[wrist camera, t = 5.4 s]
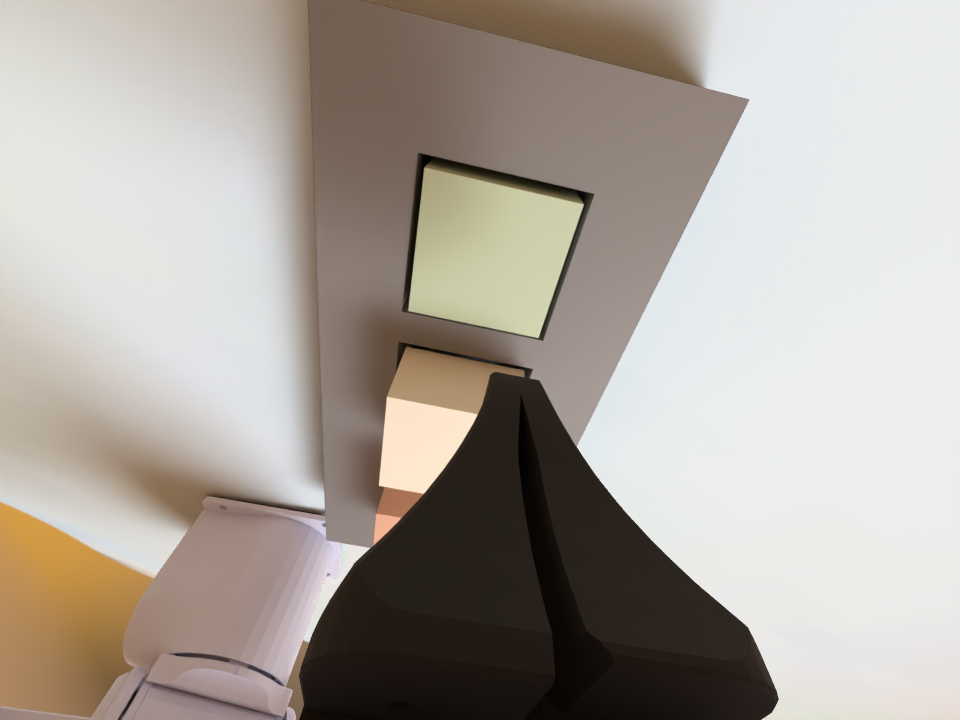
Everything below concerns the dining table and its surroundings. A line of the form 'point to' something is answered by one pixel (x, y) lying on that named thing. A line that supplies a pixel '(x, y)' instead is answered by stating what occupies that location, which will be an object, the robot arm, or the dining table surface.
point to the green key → (490, 246)
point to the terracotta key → (392, 509)
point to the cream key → (430, 415)
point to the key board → (496, 146)
